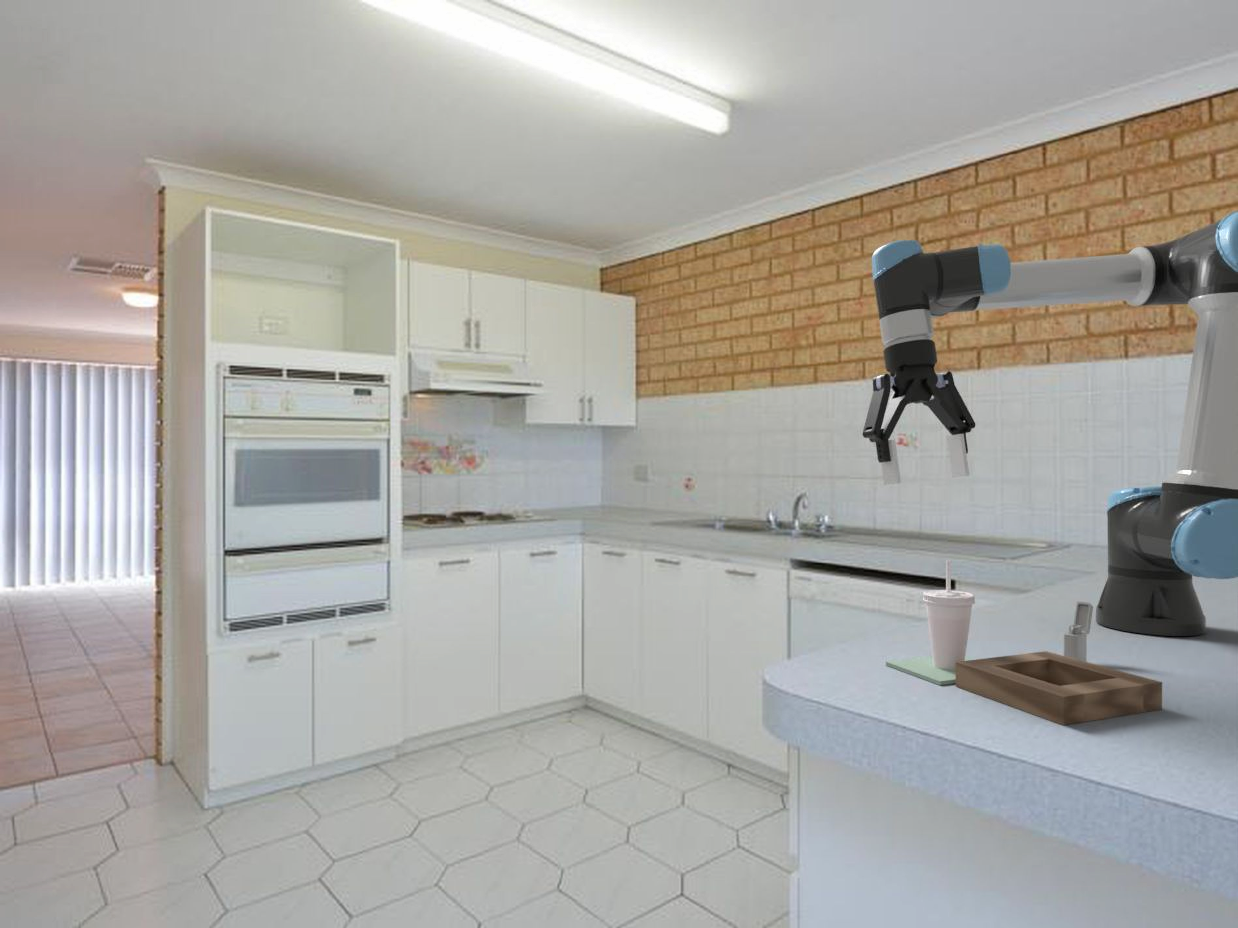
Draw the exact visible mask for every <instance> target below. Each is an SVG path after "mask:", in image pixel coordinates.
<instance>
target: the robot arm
mask: <svg viewBox="0 0 1238 928" xmlns="http://www.w3.org/2000/svg"><path fill="white" fill-rule="evenodd" d="M871 267H872V268H871V269H872V283H873V287H874V292H875V300H876V306H877V312H878V319H879V329H880V335H881V343H882V344H881V345H883V346H885V348H884V349H883V352H882V353H883V359H884V366H885V370H886V371H887V372H888V373H884V374H880V375H878V376H875V377H873V379H872V391H873V392H872V395H871V399H870V404H869V407H868V410H867V414H866V418H865V423H864V426H863V430H862V436H863V438H865V439H869V442H871V443H875V447H876V455H877V457H876V458H877V460H878V463H879V464H880V463H881V470H882V471H881V472H882V479H883V483H884V484H883V485H886V486H887V485H893V484H896V485H897V484H901V483H902V480H901V474H900V465H899V459H898V457H899V456H898V449H897V443H896V439H895V438H894V439H890V438H891V436H892V434H893V432H894V430H895V428H896V427H897V424H898V422H899V420H900V419H901V416H902V415H903V413H904V410H905V409H906V406H907V405H911V404H916V405H917V404H922V405H924V406H926V407H928V408H929V410H930V411H931V412H932V413H933V414H934V415H935V417H936V418H937V419H938V420H939V421H940V423H941V424H942V425H943V427H944V428H945V429H946V430H947V431H948V432H949V434H950V435H946V444H947V449H948V457H949V463H950V469H951V470H950V471H951V477H952V478H956V477H965V476H970V469H969V462H968V461H969V460H968V455H967V454H968V452H969V448H968V443H967V442H968V441H967V434H968V433H971V432H972V429H974V428H976V422H975V420H974V418H973V417H972V414H971V413H970V411H969V408H968V407H967V405H966V403H965V402H964V399H963V397H962V396H961V394H960V392H959V390H958V389H957V387H956V385H955V380H954V377H953V375H954V374H953V372H952V371H950V370H948V371H944V372H941V373H936V371H935V370H936V369H935V366H936V364H937V362H938V354H937V347H936V342H935V341H934V340H933V339H932V338H933V337H934V335H935V333H934V327H933V320H932V318H937V317H943V316H946V315H948V314H949V313H950V314H951V313H961V312H962V313H963V312H971V311H972V312H974V311H985V310H1000V309H1015V308H1017V309H1018V308H1034V307H1046V306H1048V307H1049V306H1050V307H1051V306H1062V305H1075V304H1076V305H1077V304H1078V305H1079V304H1094V303H1110V302H1123V301H1124V302H1126V303H1127V304H1128V305H1130V306H1132V307H1140V306H1141V307H1142V306H1170V305H1171V306H1173V305H1174V306H1176V305H1177V306H1178V305H1181V306H1182V305H1183V306H1184V305H1188V307H1189V308H1190V309H1192V311H1194V312H1195V313H1196V314H1197V321H1196V322H1197V323H1196V330H1195V338H1194V344H1193V349H1192V358H1191V364H1190V371H1189V372H1190V373H1189V380H1188V386H1187V391H1186V392H1187V394H1186V400H1185V407H1184V413H1183V414H1184V415H1183V422H1182V428H1181V433H1180V436H1181V437H1180V443H1179V451H1178V457H1177V465H1176V469H1175V472H1174V473H1171V475H1169V476H1167V477H1166V478H1164V479H1163V480H1162V483H1161V485H1160V486H1142V487H1141V486H1140V487H1128V488H1127V487H1125V488H1120V489H1116V490H1114V491H1112V492H1111V493H1110V494H1109V496H1108V501H1107V502H1108V503H1107V509H1106V516H1107V580H1106V582H1105V584H1104V587H1103V590H1102V592H1101V595H1100V597H1099V599H1098V600H1099V601H1098V604H1097V605H1096V609H1095V623H1097V624H1098V625H1100V626H1103V627H1106V628H1111V629H1113V630H1119V631H1122V632H1123V631H1125V632H1130V633H1138V634H1144V635H1154V636H1168V637H1193V636H1194V637H1195V636H1200V635H1204V634H1206V633H1207V632H1206V631H1207V622H1206V621H1207V619H1206V616H1205V614H1204V611H1203V608H1202V606H1201V605H1202V604H1201V603H1200V600H1199V598H1198V595H1197V592H1196V590H1195V588H1194V584H1193V577H1196V578H1204V579H1216V580H1230V579H1236V578H1238V210H1235V211H1233V212H1231V213H1229V214H1227V215H1225V216H1224V217H1223V218H1221V219H1219V220H1217V221H1215V222H1213V223H1210V224H1208V225H1206V226H1204V227H1201V228H1199V229H1197V230H1195V231H1193V232H1190V233H1188V234H1186V235H1184V236H1181V237H1177V238H1176V239H1173V240H1170V241H1167V242H1162V243H1159V244H1154V245H1147V246H1137V247H1134V248H1133V249H1132V250H1130V251H1129V253H1125V254H1124V253H1123V254H1110V255H1100V256H1099V255H1098V256H1097V255H1096V256H1086V257H1084V256H1083V257H1071V258H1058V259H1043V260H1042V259H1041V260H1032V261H1031V260H1030V261H1018V262H1017V261H1016V262H1011V258H1010V255H1009V253H1008V251H1007V249H1006V248H1005V247H1004V246H1003V245H1001V244H998V243H995V244H993V243H992V244H983V245H982V244H978V245H975V246H969V247H962V248H956V249H948V250H944V251H943V250H942V251H935V252H925V253H924V250H923V248H922V245H921V242H919V241H918V240H915V239H910V240H908V239H902V240H901V239H900V240H897V241H892V242H889V243H885V244H884V245H882V246H880V247H878V248H877V249H875V251H874V252H873V254H872V256H871ZM891 390H892V391H893V392H892V394H891Z"/></svg>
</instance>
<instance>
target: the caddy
mask: <svg viewBox="0 0 1238 928" xmlns="http://www.w3.org/2000/svg"><path fill="white" fill-rule="evenodd" d="M955 687H956V688H959V689H963V690H965V691H968V692H970V693H972V694H976V695H978V696H981V697H984V698H987V699H990V700H993V701H995V702H997V703H998V702H999V703H1001V704H1004V705H1006V706H1009V707H1011V708H1015V709H1018V710H1020V711H1023V712H1026V713H1028V714H1031V715H1034V716H1037V717H1039V718H1043V719H1045V720H1048V721H1050V722H1053V723H1056V724H1058V725H1062V726H1067V725H1068V726H1069V725H1074V724H1079V723H1086V722H1091V721H1097V720H1098V721H1100V720H1104V719H1109V718H1116V717H1121V716H1126V715H1128V716H1129V715H1135V714H1140V713H1144V712H1151V711H1152V712H1153V711H1157V710H1162V709H1163V682H1162V681H1159V680H1157V679H1156V680H1155V679H1152V678H1147V677H1144V676H1139V675H1136V674H1133V673H1128V672H1125V671H1121V670H1118V669H1114V668H1110V667H1107V666H1102V665H1099V664H1095V663H1091V662H1088V661H1086V662H1084V661H1081V660H1077V659H1073V658H1069V657H1066V656H1064V655H1062V654H1058V653H1057V654H1056V653H1054V652H1050V651H1046V650H1045V651H1037V652H1029V653H1022V654H1020V653H1019V654H1011V655H1003V656H997V657H996V656H995V657H988V658H979V659H974V660H969V661H960V662H956V683H955Z"/></svg>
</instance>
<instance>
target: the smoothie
mask: <svg viewBox="0 0 1238 928" xmlns="http://www.w3.org/2000/svg"><path fill="white" fill-rule="evenodd" d="M951 561H952V560H950V559H949V560H948V559H947V560H945V589H931V590H925V591H923V593H922V594H923V597H922V600H923V601H924V602H925V607H926V615H927V616H926V617H927V625H928V632H929V639H930V646H931V654H932V656H933V664H934V666H935V667H937V668H940V669H945V670H956V662H960V661H965V657H966V655H967V648H968V641H969V640H968V638H969V632H970V626H971V625H970V624H971V618H972V608H973V605H974V604H976V601H975V600H976V599H975V597H976V596H975V595H974V594H973V593H971V592H968V591H967V592H966V591H960V590H951V588H952V587H951V583H952V582H951V574H952V573H951V570H952V569H951V568H952V567H951Z"/></svg>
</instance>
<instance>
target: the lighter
mask: <svg viewBox="0 0 1238 928" xmlns="http://www.w3.org/2000/svg"><path fill="white" fill-rule="evenodd" d="M1093 610H1094V606H1093V605H1092V604H1091V603H1090V602H1089V601H1088V602H1086V601H1077V602H1076V604H1075V610H1074V611H1075V613H1074V619H1073V623H1072V624H1071V625H1069V626H1068V631H1067V632H1065V633H1063V656H1066V657H1069V658H1073V659H1077V660H1081V661H1084V662H1087V636H1088V635H1089V634H1091V627H1092V626H1091V624H1092V619H1093V612H1094V611H1093Z"/></svg>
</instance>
